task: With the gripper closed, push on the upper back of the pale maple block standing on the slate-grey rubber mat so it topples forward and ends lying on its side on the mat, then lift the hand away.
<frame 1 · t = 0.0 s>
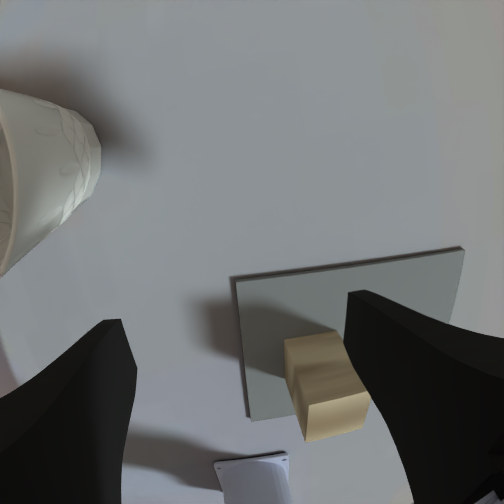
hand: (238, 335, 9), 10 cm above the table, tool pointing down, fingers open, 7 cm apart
maple block: (310, 355, 22), resting on rubber mat
white cup: (57, 161, 16), on the table
rubber mat: (361, 341, 23), on the table
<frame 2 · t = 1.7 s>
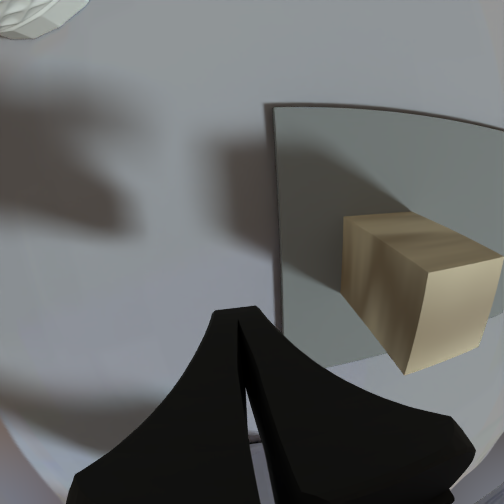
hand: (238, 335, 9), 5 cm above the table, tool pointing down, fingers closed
maple block: (377, 252, 15), resting on rubber mat
rubber mat: (437, 241, 16), on the table
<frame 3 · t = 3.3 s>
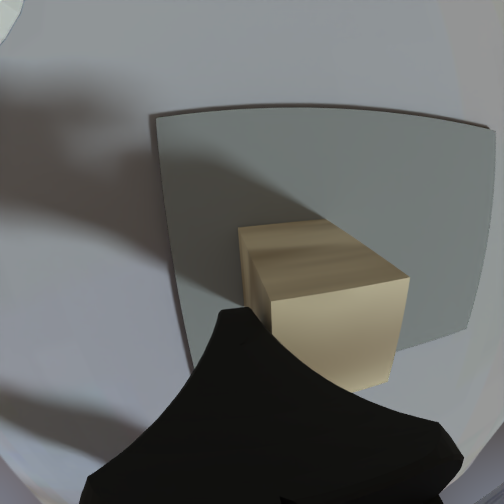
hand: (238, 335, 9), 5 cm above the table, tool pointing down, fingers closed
maple block: (284, 265, 14), resting on rubber mat, touching gripper
rubber mat: (367, 251, 15), on the table
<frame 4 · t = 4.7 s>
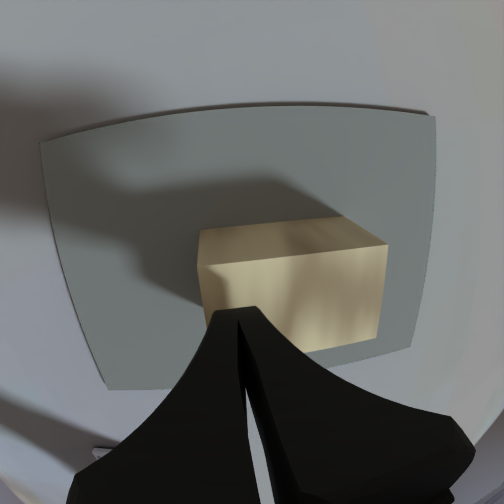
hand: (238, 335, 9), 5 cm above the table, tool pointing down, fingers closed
maple block: (205, 293, 12), point 2 cm above the table, tilted 90°, touching rubber mat
rubber mat: (259, 263, 15), on the table
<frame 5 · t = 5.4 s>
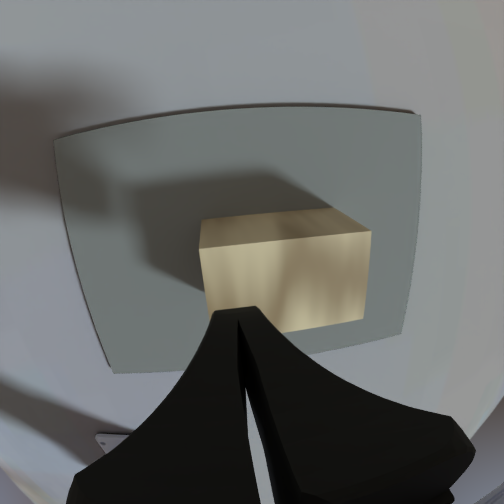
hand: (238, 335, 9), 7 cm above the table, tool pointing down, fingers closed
maple block: (206, 276, 13), point 2 cm above the table, tilted 90°, touching rubber mat
rubber mat: (256, 250, 16), on the table
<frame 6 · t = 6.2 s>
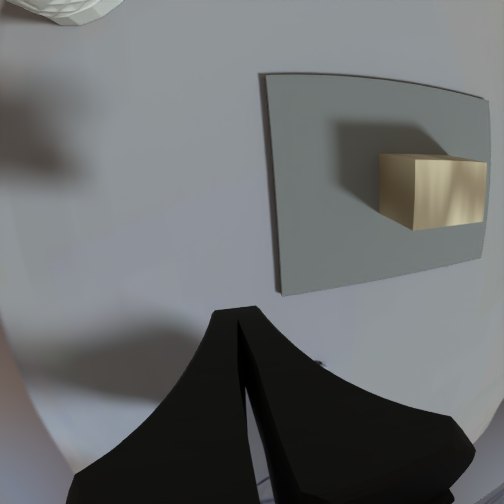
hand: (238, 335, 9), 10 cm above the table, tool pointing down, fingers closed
maple block: (395, 189, 17), point 2 cm above the table, tilted 90°, touching rubber mat
rubber mat: (406, 181, 19), on the table
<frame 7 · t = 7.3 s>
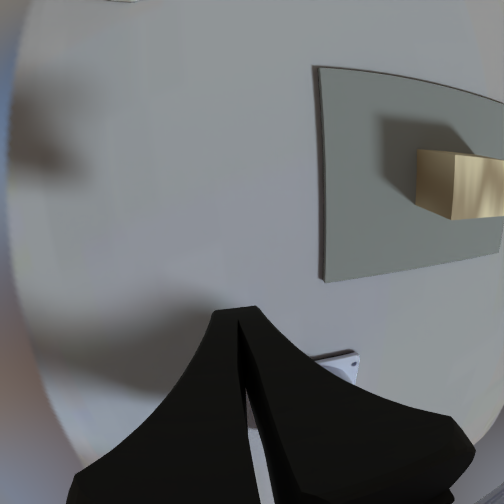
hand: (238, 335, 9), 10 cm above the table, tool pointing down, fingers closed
maple block: (433, 182, 17), point 2 cm above the table, tilted 90°, touching rubber mat
rubber mat: (438, 176, 20), on the table
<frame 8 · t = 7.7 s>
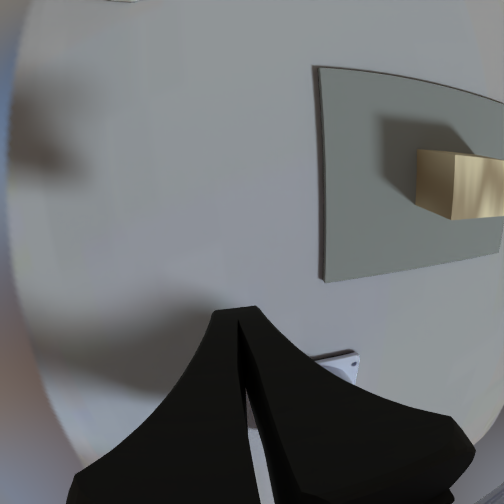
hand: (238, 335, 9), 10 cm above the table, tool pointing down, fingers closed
maple block: (433, 182, 17), point 2 cm above the table, tilted 90°, touching rubber mat
rubber mat: (438, 176, 20), on the table
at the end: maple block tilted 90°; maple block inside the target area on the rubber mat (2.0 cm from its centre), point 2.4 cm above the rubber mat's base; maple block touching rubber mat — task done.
